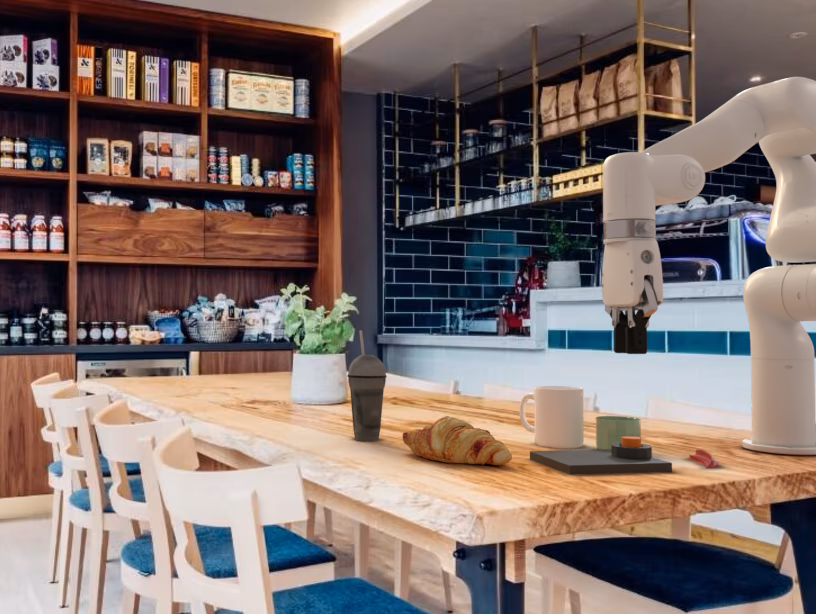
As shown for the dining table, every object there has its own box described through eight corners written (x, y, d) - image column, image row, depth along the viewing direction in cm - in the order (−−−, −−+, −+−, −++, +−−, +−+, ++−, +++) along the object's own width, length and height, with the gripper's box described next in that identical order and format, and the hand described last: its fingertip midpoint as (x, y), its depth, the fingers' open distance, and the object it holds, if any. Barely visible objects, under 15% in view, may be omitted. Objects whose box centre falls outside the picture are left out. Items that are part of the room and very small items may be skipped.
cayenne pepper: (691, 456, 135) (691, 444, 135) (723, 458, 133) (722, 446, 133) (682, 467, 125) (682, 454, 125) (716, 470, 123) (716, 456, 123)
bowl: (625, 447, 144) (625, 415, 144) (649, 453, 137) (648, 420, 138) (588, 448, 143) (588, 416, 143) (610, 454, 136) (609, 421, 136)
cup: (568, 450, 140) (568, 390, 141) (507, 442, 149) (507, 386, 150) (592, 445, 146) (592, 387, 147) (532, 438, 155) (531, 383, 155)
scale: (625, 457, 133) (624, 438, 133) (674, 472, 120) (674, 451, 121) (529, 460, 131) (529, 440, 131) (569, 475, 118) (569, 454, 118)
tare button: (634, 446, 128) (634, 436, 128) (644, 448, 125) (644, 438, 125) (617, 446, 128) (617, 436, 128) (627, 449, 125) (627, 439, 125)
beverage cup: (385, 442, 148) (385, 330, 149) (344, 441, 149) (345, 330, 150) (387, 437, 155) (388, 330, 156) (349, 436, 156) (349, 330, 157)
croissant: (522, 489, 124) (536, 440, 127) (487, 464, 118) (503, 413, 121) (413, 467, 140) (428, 423, 142) (377, 444, 134) (394, 399, 137)
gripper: (683, 228, 120) (685, 355, 120) (622, 239, 136) (623, 351, 136) (636, 227, 119) (637, 355, 118) (580, 238, 135) (581, 351, 134)
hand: (630, 352), depth 127 cm, fingers closed
